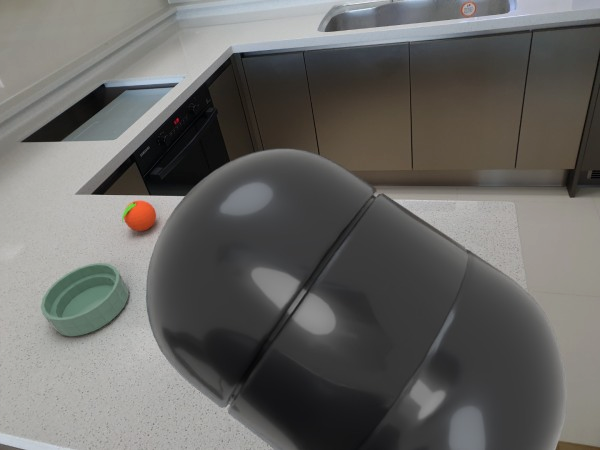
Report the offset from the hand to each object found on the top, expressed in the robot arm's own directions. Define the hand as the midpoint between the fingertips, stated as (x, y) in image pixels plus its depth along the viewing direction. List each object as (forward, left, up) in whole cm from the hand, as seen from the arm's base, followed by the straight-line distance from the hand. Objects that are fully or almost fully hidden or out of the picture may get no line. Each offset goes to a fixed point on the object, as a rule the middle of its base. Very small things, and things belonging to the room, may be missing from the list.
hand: (335, 296), depth 45 cm
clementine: (+15, +67, -25) cm, 73 cm away
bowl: (-6, +56, -25) cm, 61 cm away
